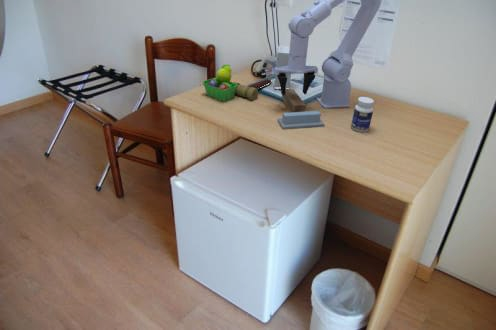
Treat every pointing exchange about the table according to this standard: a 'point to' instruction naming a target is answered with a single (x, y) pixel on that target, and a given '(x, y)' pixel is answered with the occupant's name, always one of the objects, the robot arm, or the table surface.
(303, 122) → the fulcrum
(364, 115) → the pill bottle
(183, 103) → the table surface
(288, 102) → the walnut bar
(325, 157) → the table surface
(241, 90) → the gavel
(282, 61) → the skincare box
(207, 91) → the fruit basket
